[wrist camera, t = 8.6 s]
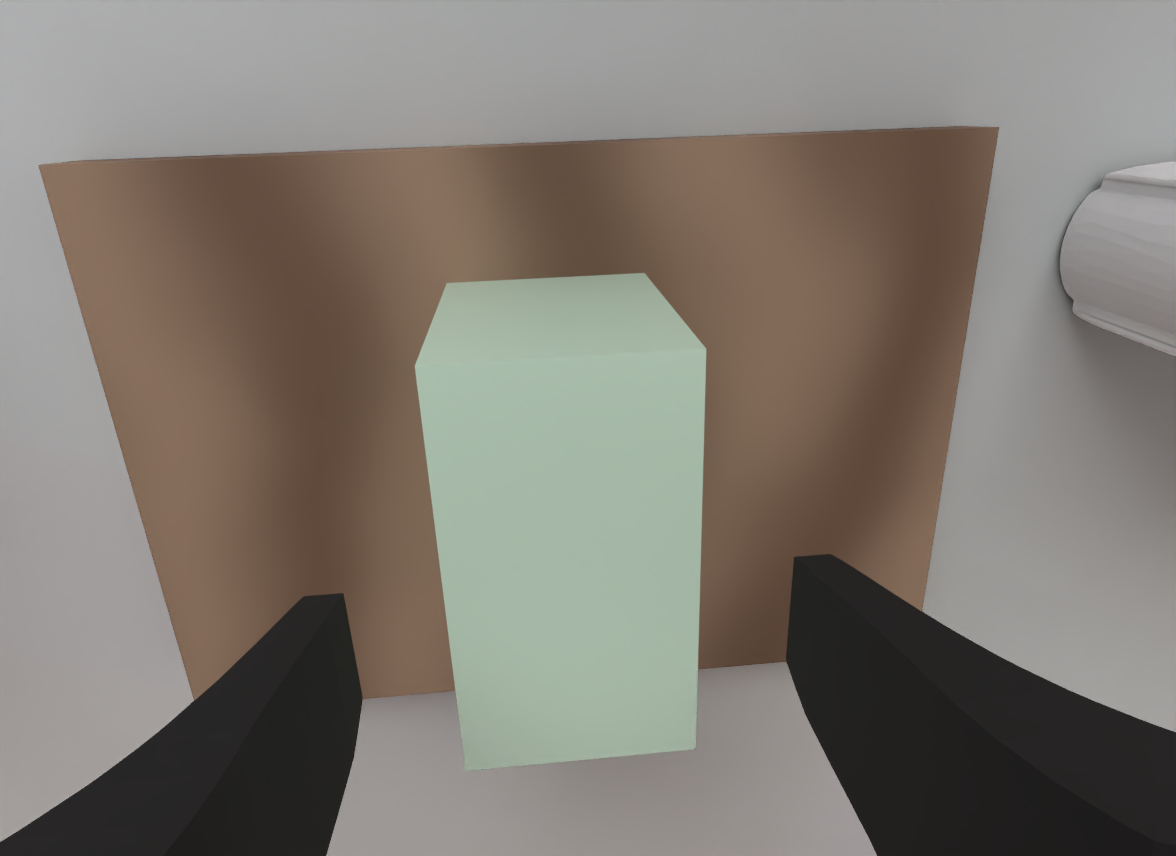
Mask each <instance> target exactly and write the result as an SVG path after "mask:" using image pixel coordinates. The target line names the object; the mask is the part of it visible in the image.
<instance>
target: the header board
mask: <svg viewBox="0 0 1176 856" xmlns="http://www.w3.org/2000/svg"><path fill="white" fill-rule="evenodd" d="M998 131H999V127H971V126H954V127H929V128H903V129H877V130H852V131H826V132H801V133H775V134H749V135H724V136H698V137H673V138H647V139H621V140H596V141H570V142H545V143H519V144H493V145H468V146H442V147H417V148H391V149H365V150H340V151H314V152H288V153H263V154H237V155H212V156H186V157H160V158H135V159H109V160H84V161H71V162H62V163H53V164H44V165H39V169H40V172H41V175H42V179H43V182H44V186H45V189H46V193H47V196H48V199H49V203H50V206H51V210H52V213H53V217H54V220H55V223H56V227H57V230H58V234H59V237H60V241H61V244H62V248H63V251H64V254H65V258H66V261H67V265H68V268H69V272H70V275H71V278H72V282H73V285H74V289H75V292H76V296H77V299H78V303H79V306H80V309H81V313H82V316H83V320H84V323H85V327H86V330H87V333H88V337H89V340H90V344H91V347H92V351H93V354H94V358H95V361H96V364H97V368H98V371H99V375H100V378H101V382H102V385H103V388H104V392H105V395H106V399H107V402H108V406H109V409H110V412H111V416H112V419H113V423H114V426H115V430H116V433H117V437H118V440H119V443H120V447H121V450H122V454H123V457H124V461H125V464H126V467H127V471H128V474H129V478H130V481H131V485H132V488H133V492H134V495H135V498H136V502H137V505H138V509H139V512H140V516H141V519H142V522H143V526H144V529H145V533H146V536H147V540H148V543H149V547H150V550H151V553H152V557H153V560H154V564H155V567H156V571H157V574H158V577H159V581H160V584H161V588H162V591H163V595H164V598H165V602H166V605H167V608H168V612H169V615H170V619H171V622H172V626H173V629H174V632H175V636H176V639H177V643H178V646H179V650H180V653H181V656H182V660H183V663H184V667H185V670H186V674H187V677H188V681H189V684H190V687H191V691H192V694H193V698H194V701H195V700H196V699H197V698H198V697H199V696H200V695H201V694H203V693H204V692H205V691H206V690H207V689H208V688H209V687H211V686H212V685H213V684H214V683H215V682H216V681H217V680H218V679H219V678H221V677H222V676H223V675H224V674H225V673H226V672H227V671H228V670H229V669H230V668H231V667H232V666H233V665H234V664H235V663H236V662H237V661H238V660H239V659H240V658H241V657H242V656H243V655H244V654H245V653H246V652H248V651H249V650H250V649H251V648H252V647H253V646H254V645H255V644H256V643H257V642H258V641H259V640H260V639H261V638H262V637H263V636H264V635H265V634H266V633H267V632H268V631H269V630H270V629H271V628H272V627H273V626H274V625H275V624H276V623H277V622H278V621H279V620H280V619H281V618H282V617H283V616H284V615H285V614H286V613H287V612H288V611H289V610H290V609H291V608H292V607H293V606H294V605H295V604H296V603H297V602H298V601H299V600H300V599H301V598H302V597H304V596H313V595H326V594H338V593H344V599H345V604H346V609H347V615H348V620H349V626H350V631H351V636H352V642H353V647H354V653H355V658H356V664H357V669H358V674H359V680H360V685H361V691H362V696H363V698H362V699H367V698H379V697H390V696H401V695H413V694H424V693H435V692H447V691H455V684H454V676H453V668H452V660H451V652H450V644H449V636H448V628H447V620H446V612H445V604H444V596H443V588H442V580H441V572H440V564H439V556H438V548H437V540H436V532H435V524H434V516H433V508H432V500H431V492H430V484H429V476H428V468H427V460H426V452H425V444H424V436H423V428H422V420H421V412H420V404H419V396H418V388H417V380H416V372H415V364H416V361H417V359H418V356H419V354H420V351H421V348H422V346H423V343H424V341H425V338H426V336H427V333H428V330H429V328H430V325H431V323H432V320H433V317H434V315H435V312H436V310H437V307H438V304H439V302H440V299H441V297H442V294H443V291H444V289H445V286H446V284H447V283H457V282H477V281H496V280H516V279H535V278H555V277H574V276H594V275H613V274H633V273H645V274H646V275H647V277H648V278H649V279H650V280H651V281H652V283H653V284H654V285H655V286H656V288H657V289H658V290H659V291H660V293H661V294H662V295H663V296H664V297H665V299H666V300H667V301H668V302H669V304H670V305H671V306H672V307H673V308H674V310H675V311H676V312H677V313H678V315H679V316H680V317H681V318H682V320H683V321H684V322H685V323H686V324H687V326H688V327H689V328H690V329H691V331H692V332H693V333H694V334H695V336H696V337H697V338H698V339H699V340H700V342H701V343H702V344H703V345H704V347H705V348H706V382H705V420H704V457H703V495H702V532H701V570H700V607H699V645H698V669H707V668H718V667H730V666H741V665H752V664H764V663H775V662H786V649H787V637H788V625H789V613H790V600H791V588H792V576H793V563H794V557H798V556H810V555H822V554H832V555H834V556H835V557H837V558H839V559H841V560H842V561H844V562H846V563H847V564H849V565H850V566H852V567H854V568H855V569H857V570H858V571H860V572H861V573H863V574H864V575H866V576H868V577H869V578H871V579H872V580H874V581H875V582H877V583H878V584H880V585H881V586H883V587H884V588H886V589H887V590H889V591H891V592H892V593H894V594H895V595H897V596H898V597H900V598H901V599H903V600H904V601H906V602H908V603H909V604H911V605H912V606H914V607H915V608H917V609H919V610H920V611H922V607H923V601H924V595H925V588H926V582H927V576H928V570H929V563H930V557H931V551H932V545H933V538H934V532H935V526H936V519H937V513H938V507H939V501H940V494H941V488H942V482H943V476H944V469H945V463H946V457H947V451H948V444H949V438H950V432H951V425H952V419H953V413H954V407H955V400H956V394H957V388H958V382H959V375H960V369H961V363H962V357H963V350H964V344H965V338H966V331H967V325H968V319H969V313H970V306H971V300H972V294H973V288H974V281H975V275H976V269H977V262H978V256H979V250H980V244H981V237H982V231H983V225H984V219H985V212H986V206H987V200H988V194H989V187H990V181H991V175H992V168H993V162H994V156H995V150H996V143H997V137H998Z"/></svg>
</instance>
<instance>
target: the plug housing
mask: <svg viewBox="0 0 1176 856" xmlns="http://www.w3.org/2000/svg"><path fill="white" fill-rule="evenodd" d="M415 372H416V380H417V388H418V396H419V404H420V412H421V420H422V428H423V436H424V444H425V452H426V460H427V468H428V476H429V484H430V492H431V500H432V508H433V516H434V524H435V532H436V540H437V548H438V556H439V564H440V572H441V580H442V588H443V596H444V604H445V612H446V620H447V628H448V636H449V644H450V652H451V660H452V668H453V676H454V684H455V692H456V700H457V708H458V716H459V724H460V732H461V740H462V748H463V756H464V764H465V771H473V770H484V769H494V768H505V767H515V766H525V765H536V764H546V763H557V762H567V761H578V760H588V759H599V758H609V757H620V756H630V755H640V754H651V753H661V752H672V751H682V750H693V749H696V720H697V682H698V645H699V607H700V570H701V532H702V495H703V457H704V420H705V382H706V348H705V347H704V345H703V344H702V343H701V342H700V340H699V339H698V338H697V337H696V336H695V334H694V333H693V332H692V331H691V329H690V328H689V327H688V326H687V324H686V323H685V322H684V321H683V320H682V318H681V317H680V316H679V315H678V313H677V312H676V311H675V310H674V308H673V307H672V306H671V305H670V304H669V302H668V301H667V300H666V299H665V297H664V296H663V295H662V294H661V293H660V291H659V290H658V289H657V288H656V286H655V285H654V284H653V283H652V281H651V280H650V279H649V278H648V277H647V275H646V274H645V273H633V274H613V275H594V276H574V277H555V278H535V279H516V280H496V281H477V282H457V283H447V284H446V286H445V289H444V291H443V294H442V297H441V299H440V302H439V304H438V307H437V310H436V312H435V315H434V317H433V320H432V323H431V325H430V328H429V330H428V333H427V336H426V338H425V341H424V343H423V346H422V348H421V351H420V354H419V356H418V359H417V361H416V364H415Z"/></svg>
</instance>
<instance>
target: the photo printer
mask: <svg viewBox="0 0 1176 856" xmlns="http://www.w3.org/2000/svg"><path fill="white" fill-rule="evenodd" d="M1060 273H1061V278H1062V283H1063V286H1064V288H1065V291H1066V293H1067V294H1068V295H1069V296H1070V297H1071V298H1073V300H1074V303H1073V313H1074V314H1075V315H1077V316H1078V317H1080V318H1081V319H1083V320H1085V321H1087V322H1089V323H1091V324H1093V325H1095V326H1097V327H1100V328H1102V329H1105V330H1108V331H1110V332H1113V333H1116V334H1118V335H1121V336H1123V337H1126V338H1128V339H1131V340H1133V341H1136V342H1138V343H1141V344H1143V345H1146V346H1149V347H1151V348H1154V349H1157V350H1159V351H1162V352H1165V353H1167V354H1170V355H1172V356H1175V357H1176V161H1173V162H1163V163H1155V164H1149V165H1142V166H1136V167H1131V168H1127V169H1123V170H1118V171H1114V172H1110V173H1108V174H1106V175H1105V176H1104V179H1103V181H1102V184H1101V187H1100V188H1099V189H1097V190H1095V191H1093V192H1091V193H1090V194H1089V195H1088V196H1087V197H1086V198H1085V199H1084V201H1083V202H1082V203H1081V205H1080V206H1079V208H1078V209H1077V210H1076V212H1075V214H1074V215H1073V217H1072V219H1071V222H1070V224H1069V226H1068V228H1067V231H1066V233H1065V236H1064V239H1063V243H1062V247H1061V254H1060Z"/></svg>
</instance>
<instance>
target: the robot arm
mask: <svg viewBox="0 0 1176 856" xmlns="http://www.w3.org/2000/svg"><path fill="white" fill-rule="evenodd" d="M786 661H787V664H788V667H789V670H790V673H791V676H792V679H793V682H794V684H795V687H796V690H797V693H798V696H799V698H800V701H801V704H802V706H803V709H804V712H805V714H806V716H807V718H808V720H809V722H810V724H811V727H812V729H813V730H814V732H815V734H816V736H817V738H818V740H819V742H820V744H821V746H822V748H823V750H824V752H825V754H826V756H827V758H828V760H829V762H830V764H831V766H832V768H833V770H834V772H835V773H836V775H837V777H838V779H839V781H840V783H841V785H842V787H843V789H844V791H845V793H846V795H847V797H848V798H849V800H850V802H851V804H852V806H853V808H854V810H855V812H856V814H857V816H858V818H859V820H860V822H861V824H862V825H863V827H864V829H865V831H866V833H867V835H868V837H869V839H870V841H871V843H872V845H873V847H874V850H875V852H876V854H877V856H1176V732H1173V731H1170V730H1167V729H1164V728H1162V727H1159V726H1156V725H1153V724H1150V723H1148V722H1145V721H1143V720H1140V719H1138V718H1135V717H1132V716H1130V715H1127V714H1125V713H1122V712H1120V711H1117V710H1115V709H1112V708H1110V707H1107V706H1105V705H1102V704H1100V703H1097V702H1095V701H1092V700H1090V699H1088V698H1085V697H1083V696H1081V695H1078V694H1076V693H1074V692H1071V691H1069V690H1067V689H1065V688H1063V687H1061V686H1058V685H1056V684H1054V683H1052V682H1050V681H1048V680H1046V679H1044V678H1042V677H1039V676H1037V675H1035V674H1033V673H1031V672H1029V671H1027V670H1025V669H1023V668H1021V667H1019V666H1017V665H1015V664H1013V663H1011V662H1009V661H1007V660H1005V659H1003V658H1001V657H999V656H997V655H995V654H994V653H992V652H990V651H988V650H987V649H985V648H983V647H981V646H979V645H978V644H976V643H974V642H972V641H970V640H969V639H967V638H965V637H963V636H962V635H960V634H958V633H956V632H955V631H953V630H951V629H950V628H948V627H946V626H945V625H943V624H941V623H940V622H938V621H936V620H935V619H933V618H931V617H930V616H928V615H927V614H925V613H923V612H922V611H920V610H919V609H917V608H915V607H914V606H912V605H911V604H909V603H908V602H906V601H904V600H903V599H901V598H900V597H898V596H897V595H895V594H894V593H892V592H891V591H889V590H887V589H886V588H884V587H883V586H881V585H880V584H878V583H877V582H875V581H874V580H872V579H871V578H869V577H868V576H866V575H864V574H863V573H861V572H860V571H858V570H857V569H855V568H854V567H852V566H850V565H849V564H847V563H846V562H844V561H842V560H841V559H839V558H837V557H835V556H834V555H832V554H822V555H810V556H798V557H794V563H793V576H792V588H791V600H790V613H789V625H788V637H787V649H786ZM362 698H363V696H362V691H361V685H360V680H359V674H358V669H357V664H356V658H355V653H354V647H353V642H352V636H351V631H350V626H349V620H348V615H347V609H346V604H345V599H344V593H338V594H326V595H313V596H304V597H302V598H301V599H300V600H299V601H298V602H297V603H296V604H295V605H294V606H293V607H292V608H291V609H290V610H289V611H288V612H287V613H286V614H285V615H284V616H283V617H282V618H281V619H280V620H279V621H278V622H277V623H276V624H275V625H274V626H273V627H272V628H271V629H270V630H269V631H268V632H267V633H266V634H265V635H264V636H263V637H262V638H261V639H260V640H259V641H258V642H257V643H256V644H255V645H254V646H253V647H252V648H251V649H250V650H249V651H248V652H246V653H245V654H244V655H243V656H242V657H241V658H240V659H239V660H238V661H237V662H236V663H235V664H234V665H233V666H232V667H231V668H230V669H229V670H228V671H227V672H226V673H225V674H224V675H223V676H222V677H221V678H219V679H218V680H217V681H216V682H215V683H214V684H213V685H212V686H211V687H209V688H208V689H207V690H206V691H205V692H204V693H203V694H201V695H200V696H199V697H198V698H197V699H196V700H195V701H194V702H192V703H191V704H190V705H189V706H188V707H187V708H186V709H184V710H183V711H182V712H181V713H180V714H179V715H178V716H177V717H175V718H174V719H173V720H172V721H171V722H170V723H169V724H167V725H166V726H165V727H164V728H163V729H161V730H160V731H159V732H158V733H156V734H155V735H154V736H153V737H152V738H150V739H149V740H148V741H146V742H145V743H144V744H143V745H141V746H140V747H139V748H138V749H136V750H135V751H134V752H132V753H131V754H130V755H128V756H127V757H126V758H124V759H123V760H122V761H120V762H119V763H118V764H116V765H115V766H114V767H112V768H111V769H110V770H108V771H107V772H106V773H104V774H103V775H102V776H100V777H99V778H97V779H96V780H95V781H93V782H92V783H90V784H89V785H87V786H86V787H84V788H83V789H81V790H80V791H78V792H77V793H75V794H74V795H72V796H71V797H69V798H68V799H66V800H65V801H63V802H62V803H60V804H59V805H57V806H56V807H54V808H53V809H51V810H50V811H48V812H47V813H45V814H44V815H42V816H41V817H39V818H37V819H36V820H34V821H33V822H31V823H30V824H28V825H27V826H25V827H24V828H22V829H21V830H19V831H18V832H16V833H14V834H13V835H11V836H10V837H8V838H6V839H5V840H3V841H1V842H0V856H326V854H327V851H328V847H329V844H330V840H331V837H332V833H333V830H334V826H335V823H336V819H337V816H338V812H339V809H340V805H341V802H342V798H343V795H344V791H345V787H346V784H347V780H348V777H349V773H350V769H351V766H352V762H353V758H354V752H355V746H356V740H357V734H358V727H359V720H360V713H361V706H362Z"/></svg>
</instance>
